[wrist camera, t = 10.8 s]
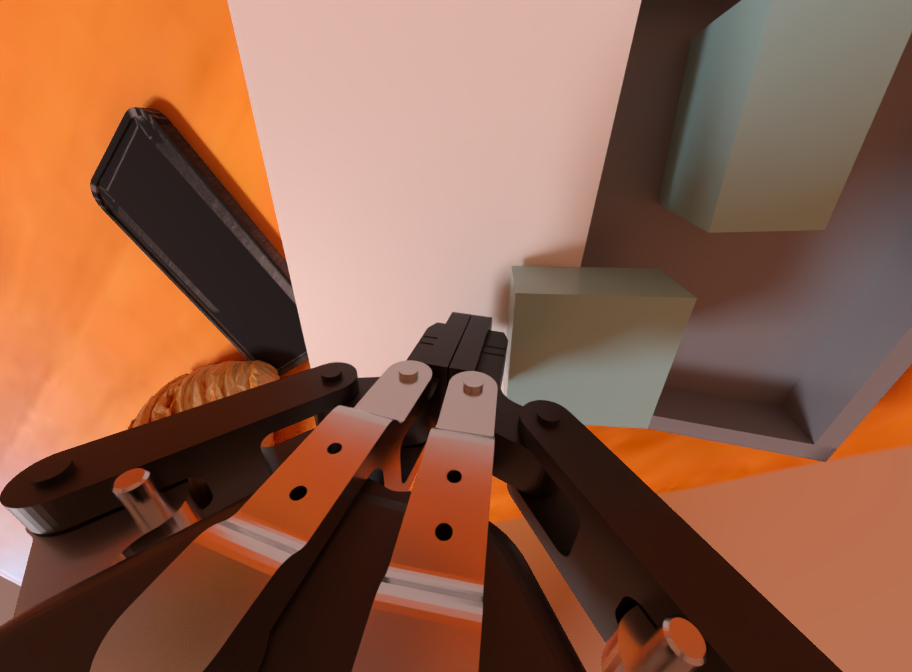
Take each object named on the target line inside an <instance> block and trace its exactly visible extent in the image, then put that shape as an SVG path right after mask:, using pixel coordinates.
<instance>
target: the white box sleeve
mask: <svg viewBox="0 0 912 672" xmlns="http://www.w3.org/2000/svg"><path fill="white" fill-rule="evenodd" d="M227 1H228V5H229V10H230V14H231V18H232V23H233V27H234V32H235V36H236V41H237V45H238V49H239V54H240V58H241V63H242V67H243V71H244V76H245V80H246V85H247V89H248V94H249V98H250V102H251V107H252V111H253V116H254V120H255V124H256V129H257V133H258V138H259V142H260V146H261V151H262V155H263V160H264V164H265V169H266V173H267V177H268V182H269V186H270V191H271V195H272V199H273V204H274V208H275V213H276V217H277V221H278V226H279V230H280V235H281V239H282V244H283V248H284V252H285V257H286V261H287V266H288V270H289V274H290V279H291V283H292V288H293V292H294V297H295V301H296V305H297V310H298V314H299V319H300V323H301V327H302V332H303V336H304V341H305V345H306V349H307V354H308V358H309V363H310V367H311V369H312V368H315V367H318V366H321V365H324V364H327V363H333V362H343V363H348V364H350V365H352V366H354V367H355V368H356V370H357V375H358V378H364V377H381V376H382V374H383V373H384V372H385V371H386V370H387V369H388V368H389V367H390V366H391V365H393V364H395V363H397V362H401V361H406V360H407V358H408V357H409V355H410V354H411V352H412V351H413V349H414V348H415V346H416V345H417V343H419V340H420V339H421V337H423V334H424V333H425V331H426V329H427V328H428V327H430V326H432V325H433V324H435V323H437V322H438V323H445V324H446V322H447V320H448V319H449V317H450V315H451V313H452V312H458V313H465V314H472V315H479V316H486V317H492V328H491V331H498V332H504V333H505V335H506V332H507V318H508V305H509V291H510V278H511V266H553V267H580V266H581V262H582V257H583V253H584V249H585V244H586V240H587V235H588V231H589V227H590V222H591V218H592V214H593V209H594V205H595V201H596V196H597V192H598V188H599V183H600V179H601V174H602V170H603V166H604V161H605V157H606V153H607V148H608V144H609V140H610V135H611V131H612V127H613V122H614V118H615V114H616V109H617V105H618V100H619V96H620V92H621V87H622V83H623V79H624V74H625V70H626V66H627V61H628V57H629V53H630V48H631V44H632V39H633V35H634V31H635V26H636V22H637V18H638V13H639V9H640V5H641V0H227ZM501 391H502V392H503V394H504V389H503V380H502V385H501Z"/></svg>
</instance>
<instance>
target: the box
mask: <svg viewBox="0 0 912 672" xmlns="http://www.w3.org/2000/svg"><path fill="white" fill-rule="evenodd" d="M740 1H741V0H641V5H640V9H639V13H638V18H637V22H636V26H635V31H634V35H633V39H632V44H631V48H630V53H629V57H628V61H627V66H626V70H625V74H624V79H623V83H622V87H621V92H620V96H619V100H618V105H617V109H616V114H615V118H614V122H613V127H612V131H611V135H610V140H609V144H608V148H607V153H606V157H605V161H604V166H603V170H602V174H601V179H600V183H599V188H598V192H597V196H596V201H595V205H594V209H593V214H592V218H591V222H590V227H589V231H588V235H587V240H586V244H585V249H584V253H583V257H582V262H581V266H580V267H604V268H655V269H660V270H661V271H663V272H664V273H665V274H667V275H668V276H669V277H670V278H672V279H673V280H674V281H676V282H677V283H678V284H680V285H681V286H682V287H683V288H685V289H686V290H687V291H689V292H690V293H691V294H693V295H694V296H695V297H696V298H697V299H696V302H695V305H694V307H693V310H692V313H691V315H690V318H689V320H688V323H687V326H686V328H685V331H684V334H683V336H682V339H681V342H680V344H679V347H678V350H677V352H676V355H675V357H674V360H673V363H672V365H671V368H670V371H669V373H668V376H667V379H666V381H665V384H664V387H663V389H662V392H661V394H660V397H659V400H658V402H657V405H656V408H655V410H654V413H653V416H652V418H651V421H650V424H649V426H648V429H653V430H658V431H663V432H669V433H674V434H679V435H685V436H690V437H695V438H701V439H706V440H711V441H717V442H722V443H727V444H733V445H738V446H743V447H749V448H754V449H759V450H765V451H770V452H775V453H781V454H786V455H791V456H797V457H802V458H807V459H813V460H818V461H823V462H826V461H827V460H828V459H829V457H830V456H831V455H832V454H833V453H834V452H835V451H836V449H837V448H838V447H839V446H840V445H841V444H842V443H843V441H844V440H845V439H846V438H847V437H848V436H849V435H850V434H851V432H852V431H853V430H854V429H855V428H856V427H857V426H858V424H859V423H860V422H861V421H862V420H863V419H864V418H865V416H866V415H867V414H868V413H869V412H870V411H871V410H872V409H873V407H874V406H875V405H876V404H877V403H878V402H879V401H880V399H881V398H882V397H883V396H884V395H885V394H886V393H887V391H888V390H889V389H890V388H891V387H892V386H893V385H894V384H895V382H896V381H897V380H898V379H899V378H900V377H901V376H902V374H903V373H904V372H905V371H906V370H907V369H908V368H909V366H910V365H911V364H912V33H911V35H910V37H909V39H908V42H907V44H906V46H905V48H904V51H903V53H902V55H901V58H900V60H899V62H898V64H897V67H896V69H895V71H894V74H893V76H892V78H891V80H890V83H889V85H888V87H887V89H886V92H885V94H884V96H883V99H882V101H881V103H880V105H879V108H878V110H877V112H876V115H875V117H874V119H873V121H872V124H871V126H870V128H869V130H868V133H867V135H866V137H865V140H864V142H863V144H862V146H861V149H860V151H859V153H858V156H857V158H856V160H855V162H854V165H853V167H852V169H851V172H850V174H849V176H848V178H847V181H846V183H845V185H844V187H843V190H842V192H841V194H840V197H839V199H838V201H837V203H836V206H835V208H834V210H833V213H832V215H831V217H830V219H829V222H828V224H827V226H826V228H825V230H806V231H763V232H719V233H708V232H706V231H705V230H703V229H701V228H699V227H698V226H696V225H694V224H692V223H691V222H689V221H687V220H685V219H684V218H682V217H680V216H678V215H677V214H675V213H673V212H671V211H670V210H668V209H666V208H665V207H663V206H661V205H659V204H658V203H659V198H660V193H661V188H662V183H663V178H664V173H665V168H666V162H667V157H668V152H669V147H670V142H671V137H672V132H673V127H674V122H675V117H676V112H677V107H678V102H679V97H680V92H681V87H682V82H683V77H684V72H685V67H686V62H687V57H688V52H689V47H690V42H691V38H692V37H693V36H694V35H696V34H697V33H698V32H700V31H701V30H702V29H704V28H705V27H706V26H708V25H709V24H710V23H712V22H713V21H714V20H716V19H717V18H718V17H720V16H721V15H722V14H724V13H725V12H726V11H728V10H729V9H730V8H732V7H733V6H734V5H736V4H737V3H738V2H740Z"/></svg>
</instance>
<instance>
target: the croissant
mask: <svg viewBox="0 0 912 672" xmlns="http://www.w3.org/2000/svg"><path fill="white" fill-rule="evenodd" d="M278 379H280V376H279V375H278V371H277V369H276V368H274V367H273V366H271V365H270V364H268V363H266V362H263V361H260V360H255V361H249V360H247V361H225V362H222V363H219V364H213V365H212V364H210V365H207V366H204V367H201V368H198V369H196V370H195V371H193V372H192V373H191V374H184V375H181V376H179V377H177V378H175V379H174V380H172V381H171V382H169V383H168V384H166V385H165V386H164V387H163V388H161V389H160V390H159V391H158V392H157V393H156V394H155V395H154V396H152V397H151V398H150V399H149V401H148V402H147V403H146V404H145V405H144V406H143V408H142V409H141V411H140V412H139V414H138V415H137V417H136V418H135V419H134V420H132V422H131V424H130V426H129V427H128V429H131V428H134V427H137V426H140V425H143V424H146V423H149V422H152V421H155V420H158V419H161V418H164V417H167V416H170V415H173V414H176V413H179V412H182V411H185V410H188V409H191V408H194V407H197V406H200V405H203V404H206V403H209V402H212V401H215V400H218V399H221V398H224V397H227V396H230V395H233V394H236V393H239V392H242V391H245V390H248V389H251V388H254V387H257V386H260V385H263V384H266V383H269V382H272V381H275V380H278ZM273 435H274V432H273V433H271V434H269V435H268V436H266V437H265V438H264V440H263V441H262V443H261V446H263V447H272V446H274V444H275V441H274V440H273Z"/></svg>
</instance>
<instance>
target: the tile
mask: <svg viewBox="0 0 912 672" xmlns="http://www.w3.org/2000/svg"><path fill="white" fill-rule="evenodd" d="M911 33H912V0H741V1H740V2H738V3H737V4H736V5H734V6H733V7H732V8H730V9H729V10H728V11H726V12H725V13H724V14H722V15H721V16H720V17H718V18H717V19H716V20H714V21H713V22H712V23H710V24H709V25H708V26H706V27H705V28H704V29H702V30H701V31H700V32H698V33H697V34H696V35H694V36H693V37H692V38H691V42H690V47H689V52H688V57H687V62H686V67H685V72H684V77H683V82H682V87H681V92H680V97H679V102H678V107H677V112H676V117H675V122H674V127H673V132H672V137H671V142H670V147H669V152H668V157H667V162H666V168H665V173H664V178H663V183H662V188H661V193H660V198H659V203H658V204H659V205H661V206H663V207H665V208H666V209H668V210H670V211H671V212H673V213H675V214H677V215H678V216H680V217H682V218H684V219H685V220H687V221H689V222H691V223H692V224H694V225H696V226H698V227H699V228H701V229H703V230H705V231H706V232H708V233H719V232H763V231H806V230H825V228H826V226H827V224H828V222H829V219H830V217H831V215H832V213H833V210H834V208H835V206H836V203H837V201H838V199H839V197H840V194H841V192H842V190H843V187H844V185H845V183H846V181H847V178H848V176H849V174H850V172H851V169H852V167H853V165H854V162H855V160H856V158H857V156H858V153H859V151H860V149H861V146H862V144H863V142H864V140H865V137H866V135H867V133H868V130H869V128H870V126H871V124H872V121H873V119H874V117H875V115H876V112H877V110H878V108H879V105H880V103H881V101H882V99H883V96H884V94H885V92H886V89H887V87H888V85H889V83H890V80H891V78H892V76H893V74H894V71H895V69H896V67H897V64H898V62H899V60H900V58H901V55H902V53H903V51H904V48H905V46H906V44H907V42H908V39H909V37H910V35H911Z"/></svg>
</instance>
